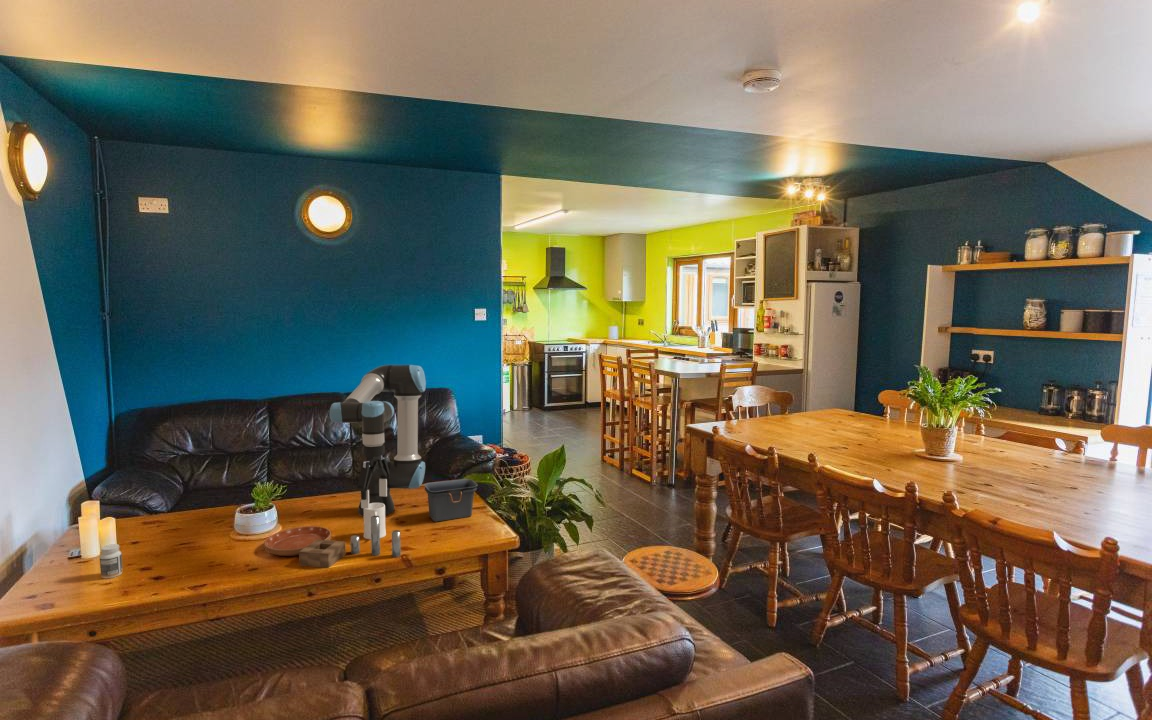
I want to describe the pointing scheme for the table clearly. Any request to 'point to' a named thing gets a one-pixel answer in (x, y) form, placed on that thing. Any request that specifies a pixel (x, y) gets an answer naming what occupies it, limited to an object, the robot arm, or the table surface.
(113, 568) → the pill bottle
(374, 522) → the long pin
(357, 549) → the short pin
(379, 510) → the mug
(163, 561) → the table surface
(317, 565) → the socket block
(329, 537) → the saucer
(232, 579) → the table surface
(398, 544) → the medium pin
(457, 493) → the storage bin
